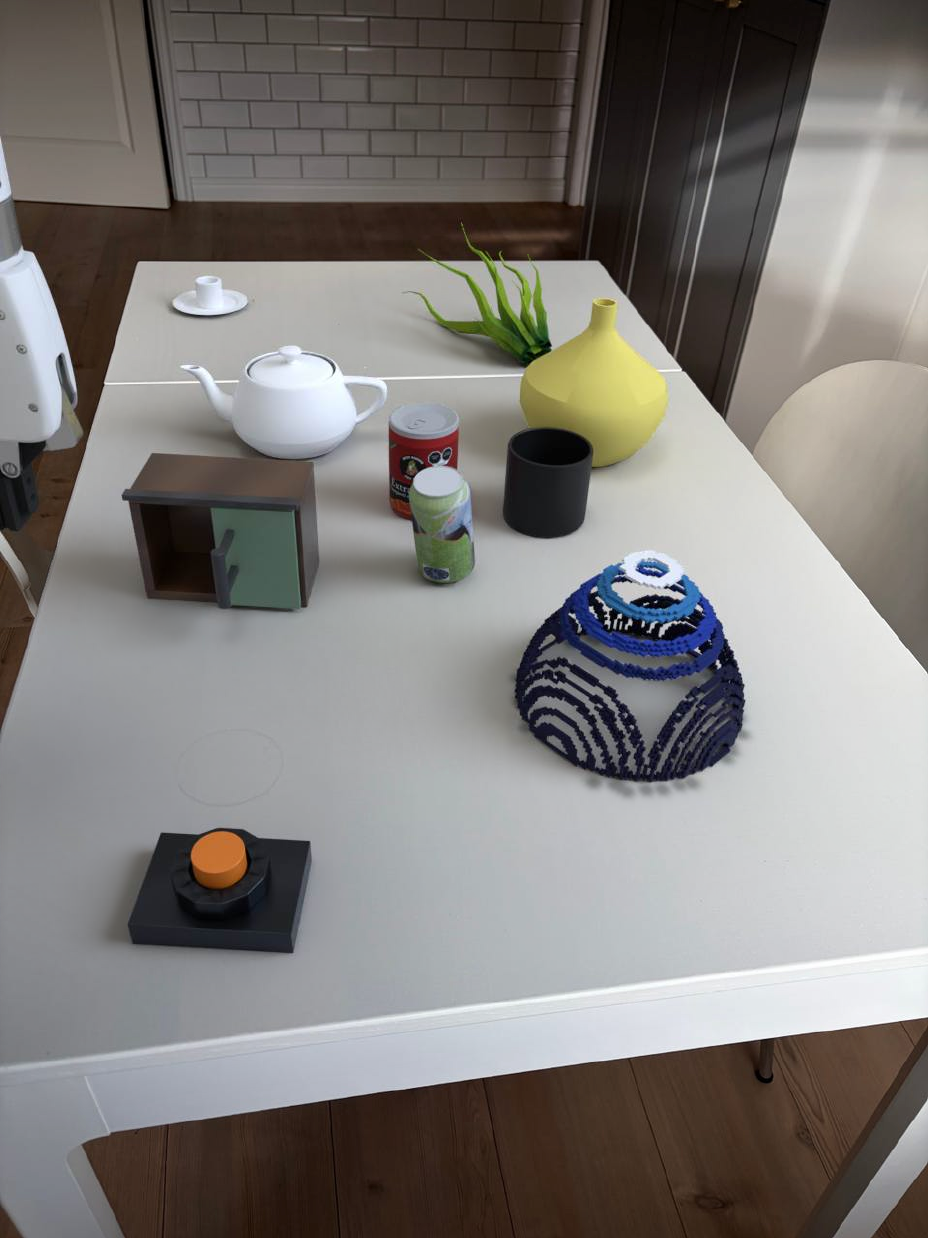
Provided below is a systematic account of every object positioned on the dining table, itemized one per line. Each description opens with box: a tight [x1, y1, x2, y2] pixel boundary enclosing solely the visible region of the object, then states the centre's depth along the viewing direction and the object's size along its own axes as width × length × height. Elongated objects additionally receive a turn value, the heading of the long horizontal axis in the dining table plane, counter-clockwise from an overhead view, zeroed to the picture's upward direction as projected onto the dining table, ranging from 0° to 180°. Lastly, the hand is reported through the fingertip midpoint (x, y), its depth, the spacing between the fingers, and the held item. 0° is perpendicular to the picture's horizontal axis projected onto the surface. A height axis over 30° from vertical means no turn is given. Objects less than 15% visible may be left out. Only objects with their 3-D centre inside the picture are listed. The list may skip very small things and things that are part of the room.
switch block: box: [127, 827, 313, 954], centre depth 69 cm, size 11×8×4 cm
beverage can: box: [409, 466, 476, 584], centre depth 100 cm, size 6×7×12 cm
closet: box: [121, 452, 320, 608], centre depth 97 cm, size 16×9×13 cm, turn 88°
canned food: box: [388, 402, 460, 520], centre depth 112 cm, size 8×8×11 cm
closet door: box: [211, 505, 302, 610], centre depth 92 cm, size 8×6×11 cm
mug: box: [502, 427, 593, 538], centre depth 112 cm, size 9×12×9 cm
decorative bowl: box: [513, 549, 746, 783], centre depth 85 cm, size 20×20×14 cm
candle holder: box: [171, 275, 249, 316], centre depth 161 cm, size 12×12×4 cm
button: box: [191, 831, 247, 889], centre depth 68 cm, size 4×4×2 cm
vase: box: [518, 297, 669, 468], centre depth 122 cm, size 18×18×19 cm
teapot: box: [179, 344, 388, 460], centre depth 123 cm, size 25×16×12 cm, turn 92°
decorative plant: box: [402, 222, 553, 367], centre depth 152 cm, size 18×30×15 cm, turn 12°
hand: (15, 519), depth 65 cm, fingers closed
